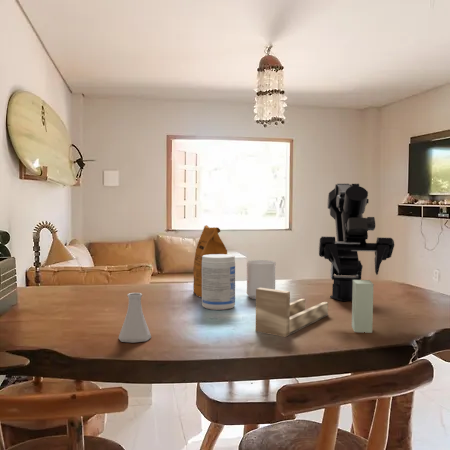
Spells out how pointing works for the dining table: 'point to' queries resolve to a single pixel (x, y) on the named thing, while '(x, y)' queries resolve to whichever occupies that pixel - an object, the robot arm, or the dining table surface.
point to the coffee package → (205, 246)
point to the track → (284, 312)
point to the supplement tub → (218, 281)
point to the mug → (260, 276)
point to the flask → (134, 322)
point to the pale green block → (362, 306)
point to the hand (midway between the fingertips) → (358, 273)
